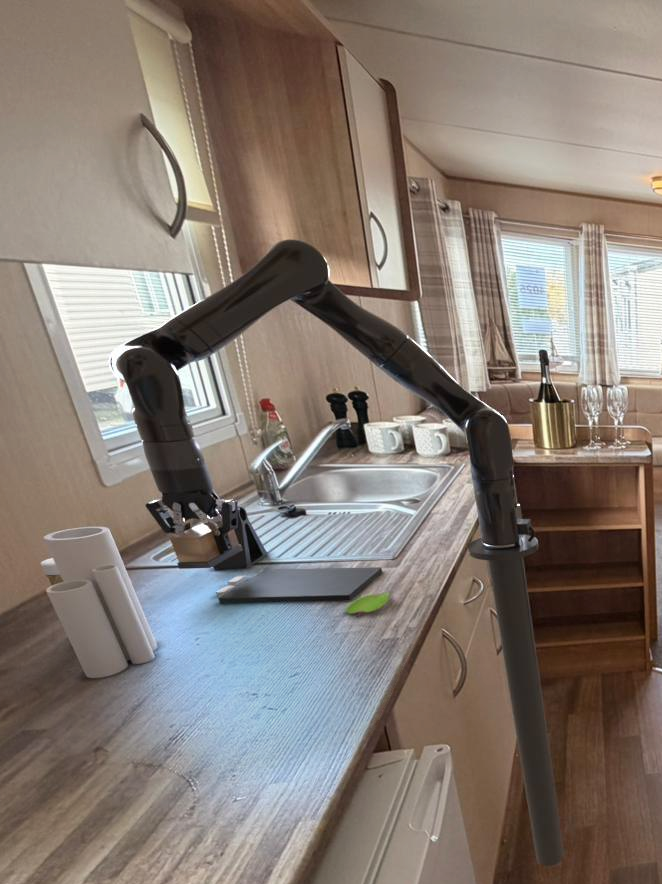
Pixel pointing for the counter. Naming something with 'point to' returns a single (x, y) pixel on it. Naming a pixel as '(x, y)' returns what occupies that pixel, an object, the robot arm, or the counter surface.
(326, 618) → the counter surface
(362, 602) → the decorative leaf
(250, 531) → the phone stand
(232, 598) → the memo board
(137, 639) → the vase
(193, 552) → the eraser
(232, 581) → the small white block
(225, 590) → the small white block
